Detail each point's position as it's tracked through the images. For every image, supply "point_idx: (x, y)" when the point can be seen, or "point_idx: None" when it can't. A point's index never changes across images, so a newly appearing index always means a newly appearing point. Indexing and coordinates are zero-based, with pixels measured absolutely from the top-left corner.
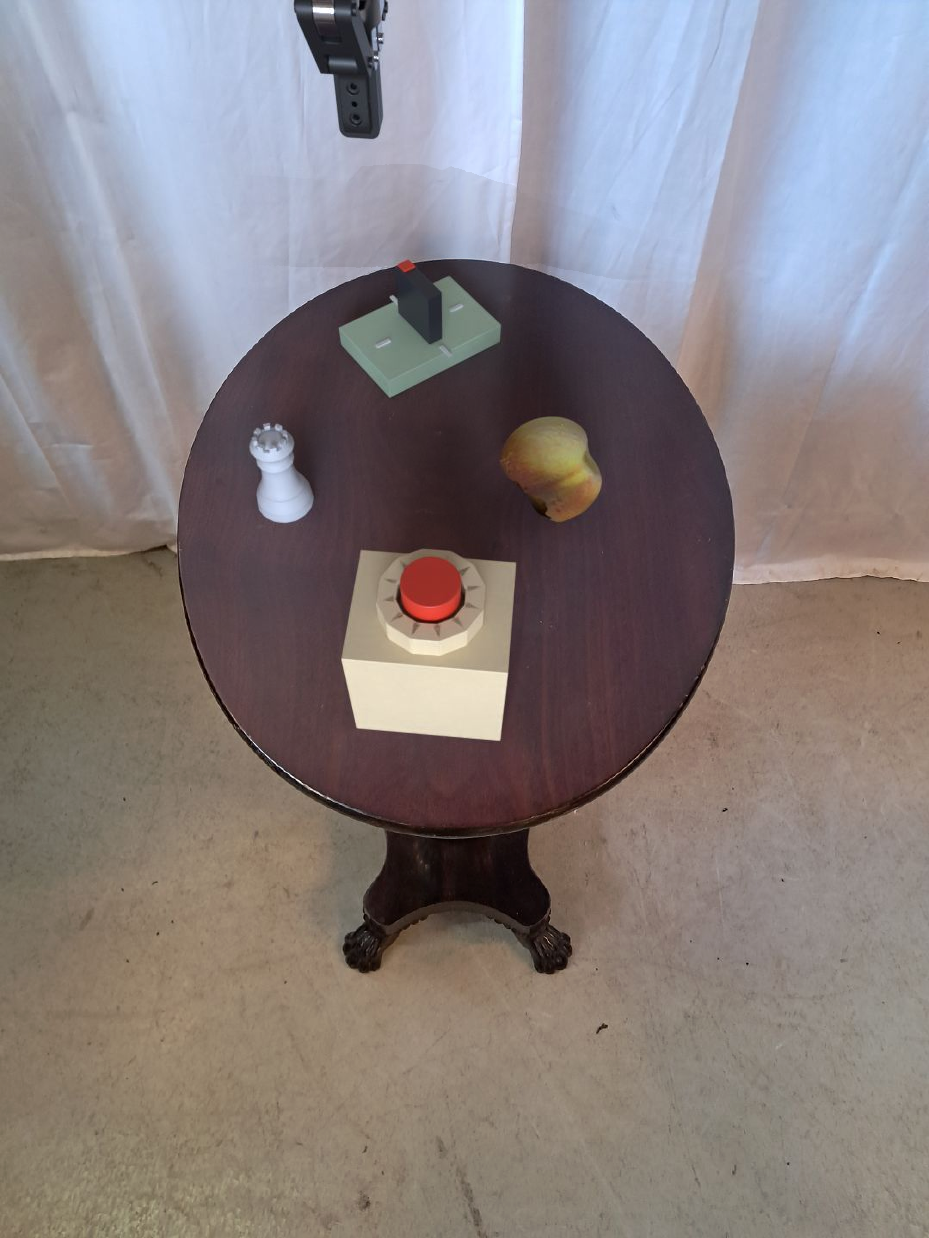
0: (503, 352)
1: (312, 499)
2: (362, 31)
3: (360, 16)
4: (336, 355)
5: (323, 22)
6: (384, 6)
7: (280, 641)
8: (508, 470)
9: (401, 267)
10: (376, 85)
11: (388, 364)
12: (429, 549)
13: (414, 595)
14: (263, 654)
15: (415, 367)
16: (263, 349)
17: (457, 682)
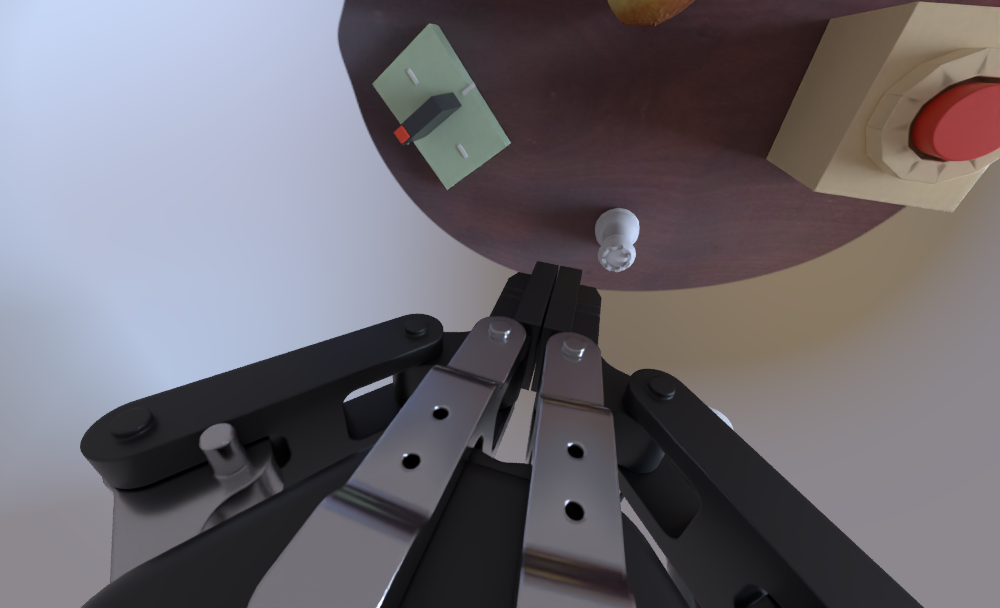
0: (451, 20)
1: (620, 209)
2: (755, 505)
3: (794, 565)
4: (464, 188)
5: None
6: (422, 334)
7: (751, 231)
8: (674, 14)
9: (405, 139)
10: (573, 313)
11: (486, 146)
12: (887, 122)
13: (990, 144)
14: (759, 243)
15: (489, 120)
16: (461, 243)
17: None
